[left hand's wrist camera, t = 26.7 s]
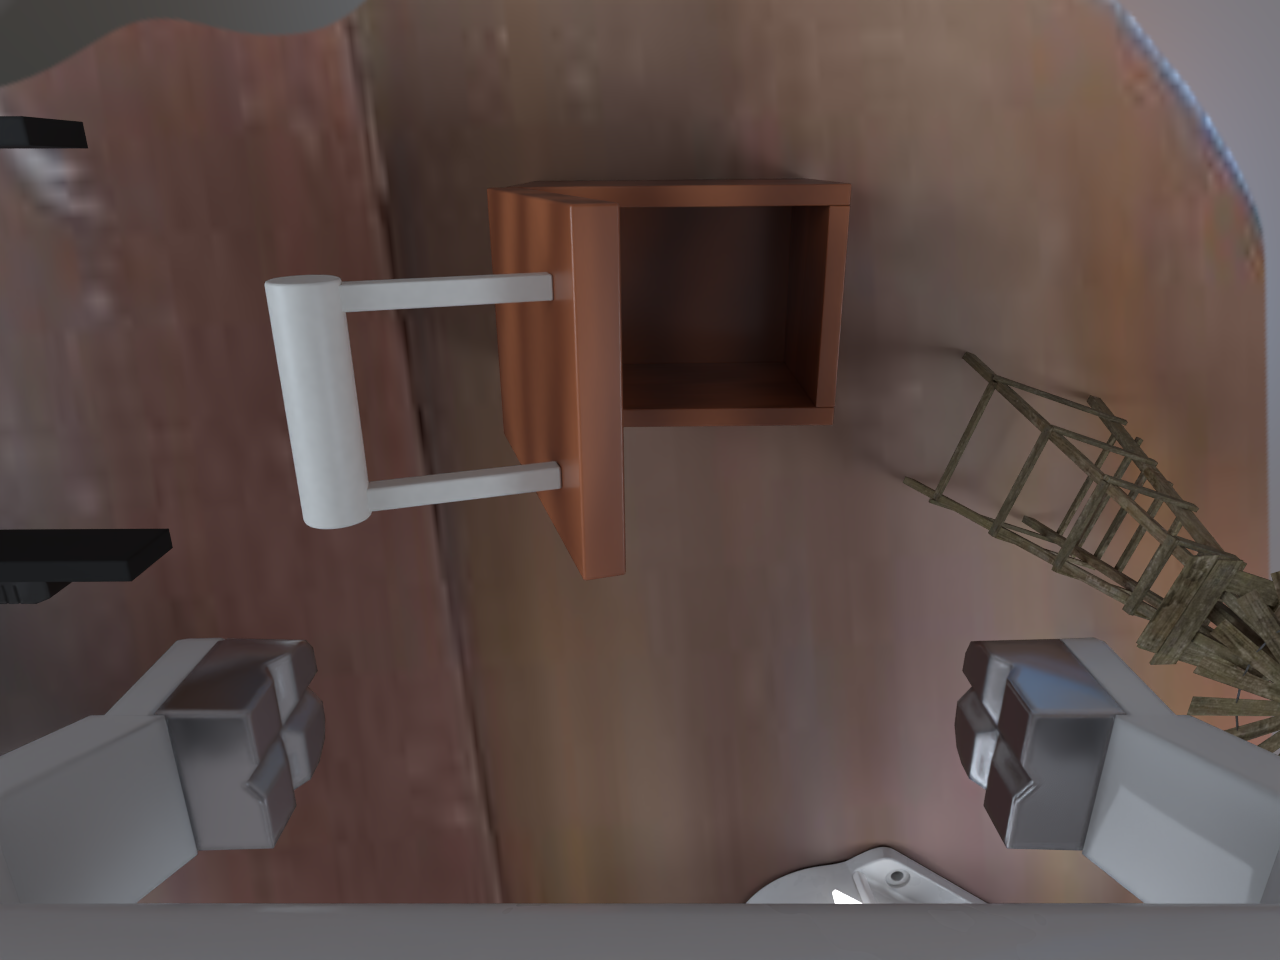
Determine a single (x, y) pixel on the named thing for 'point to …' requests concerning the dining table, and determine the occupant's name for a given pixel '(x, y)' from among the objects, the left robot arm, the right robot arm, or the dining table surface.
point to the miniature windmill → (1150, 565)
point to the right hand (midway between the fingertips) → (109, 361)
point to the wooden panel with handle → (529, 373)
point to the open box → (727, 297)
